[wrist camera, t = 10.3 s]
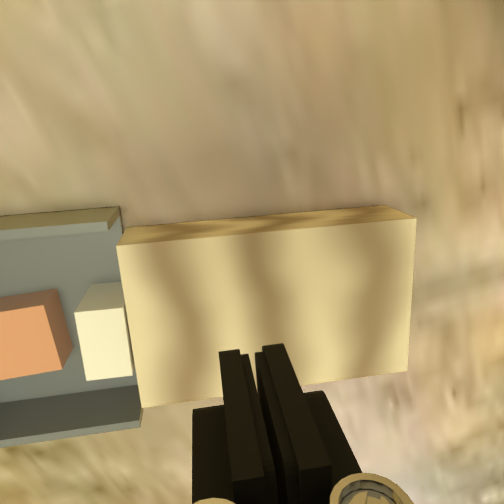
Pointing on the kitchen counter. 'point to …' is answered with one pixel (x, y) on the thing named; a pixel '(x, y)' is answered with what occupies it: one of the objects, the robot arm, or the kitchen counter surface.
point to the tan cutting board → (268, 296)
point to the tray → (70, 294)
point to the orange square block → (32, 334)
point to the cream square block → (104, 332)
